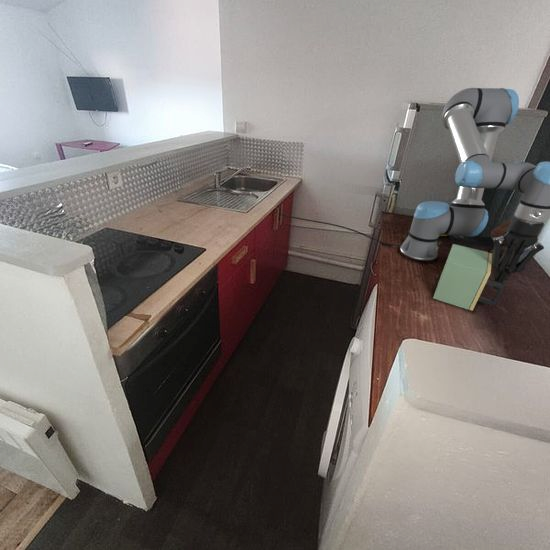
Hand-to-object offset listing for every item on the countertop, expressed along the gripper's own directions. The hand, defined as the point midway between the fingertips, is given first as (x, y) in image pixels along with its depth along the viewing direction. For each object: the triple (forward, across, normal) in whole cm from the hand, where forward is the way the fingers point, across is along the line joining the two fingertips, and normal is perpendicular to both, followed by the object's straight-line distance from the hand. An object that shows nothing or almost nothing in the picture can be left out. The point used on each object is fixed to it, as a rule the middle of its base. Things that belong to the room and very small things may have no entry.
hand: (495, 287), depth 97 cm
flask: (+7, +16, +34) cm, 39 cm away
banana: (+7, -11, +57) cm, 58 cm away
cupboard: (+7, -10, +3) cm, 13 cm away
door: (+7, -2, +1) cm, 7 cm away
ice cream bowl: (+7, +13, +48) cm, 50 cm away
